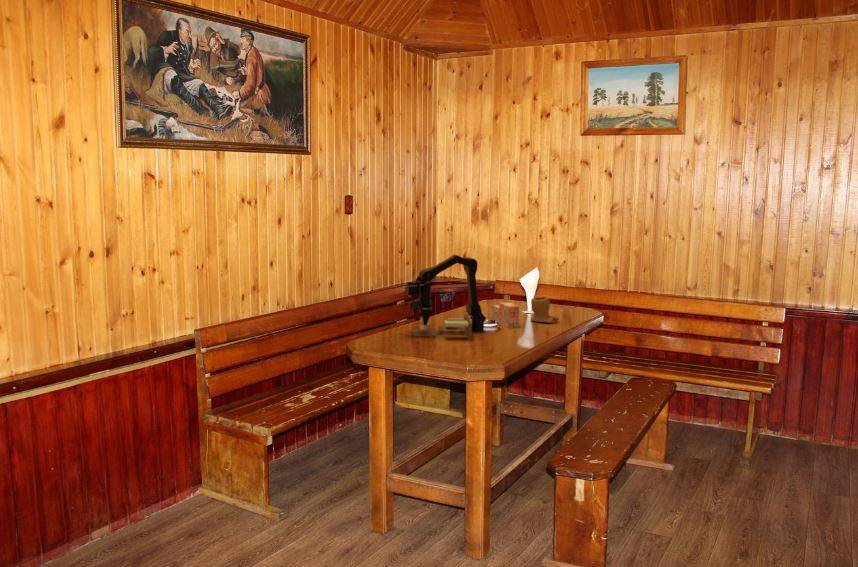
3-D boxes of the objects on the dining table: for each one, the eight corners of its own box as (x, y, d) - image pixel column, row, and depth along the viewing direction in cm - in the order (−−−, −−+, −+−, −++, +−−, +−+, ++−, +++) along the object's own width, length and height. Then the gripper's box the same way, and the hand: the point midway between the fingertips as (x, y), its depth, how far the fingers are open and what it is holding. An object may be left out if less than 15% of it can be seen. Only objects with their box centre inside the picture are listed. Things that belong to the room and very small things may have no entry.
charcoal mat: (435, 332, 389) (435, 330, 389) (436, 337, 377) (436, 335, 377) (412, 332, 388) (412, 330, 388) (413, 337, 376) (413, 334, 376)
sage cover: (467, 323, 376) (467, 318, 376) (468, 326, 368) (468, 321, 368) (444, 323, 375) (444, 318, 375) (445, 326, 368) (445, 320, 368)
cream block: (428, 328, 384) (429, 316, 384) (429, 329, 380) (429, 318, 379) (420, 328, 384) (420, 316, 383) (420, 329, 380) (420, 318, 379)
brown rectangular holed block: (466, 330, 395) (467, 314, 393) (471, 341, 370) (472, 323, 369) (437, 330, 394) (438, 314, 393) (440, 340, 369) (441, 323, 368)
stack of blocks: (491, 321, 424) (492, 300, 422) (501, 320, 426) (502, 299, 424) (508, 328, 404) (509, 306, 402) (518, 327, 406) (519, 305, 405)
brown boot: (526, 322, 421) (527, 296, 419) (534, 319, 432) (535, 294, 429) (551, 325, 414) (552, 299, 412) (559, 322, 424) (560, 296, 422)
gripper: (409, 291, 388) (408, 320, 391) (410, 297, 370) (409, 327, 372) (430, 291, 389) (430, 320, 391) (432, 297, 370) (431, 327, 373)
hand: (424, 324), depth 382 cm, fingers closed on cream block, 4 cm apart
